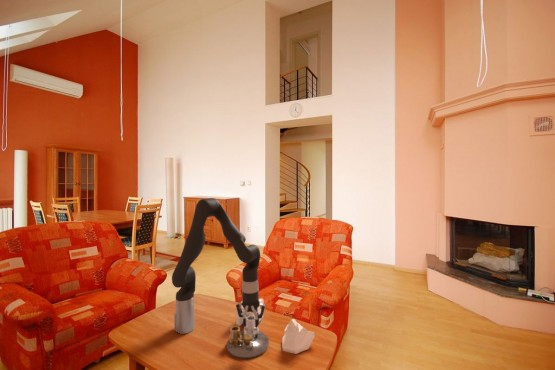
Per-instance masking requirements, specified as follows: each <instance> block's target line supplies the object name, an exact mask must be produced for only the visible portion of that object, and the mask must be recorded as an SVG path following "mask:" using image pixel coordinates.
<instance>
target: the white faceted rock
mask: <svg viewBox="0 0 555 370" xmlns="http://www.w3.org/2000/svg"><path fill="white" fill-rule="evenodd" d="M283 332H284V335H283V336H282V338H281V341H282V345H281V346H282V347H281V349H282V351H283V352H286V353H291V354H295V355H297V354H299V353H301V352H304V351H306V350H309V349H310V347H311V345H312V342H313V340H314V338H315V336H316V334H315V331H308V330H307V328H306V327H305V326H302V325H301V324H300V323H298V322H297V320H296V319H295V318H292V319H290V320H289V323H288V324H287V325H286V326H285V329H284V330H283Z"/></svg>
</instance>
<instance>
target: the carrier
mask: <svg viewBox="0 0 555 370" xmlns="http://www.w3.org/2000/svg"><path fill="white" fill-rule="evenodd" d="M240 335H242V342H241V343H240V344H238V345H234V344H233V345H231V344H229V339H228V340H227V342H226V351H227V352H228V354H230V355H231V357H234V358H236V359H242V360H249V359H255V358H258V357H260V356H261V355H263V354H264V353H265V352H266V351H267V350H268V348H269V345H270V343H269V337H268V336H267V335H266V334H265V333H263V332H262V331H261V330H260V331H259V330H258V333H257V334H254V335H247V334H245V333H244V330H242V331H241V330H240Z"/></svg>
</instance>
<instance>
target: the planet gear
mask: <svg viewBox="0 0 555 370" xmlns="http://www.w3.org/2000/svg"><path fill="white" fill-rule="evenodd" d="M255 319H256V318H255V316H251V315H250V316H247V317H246V327H243V331H244V333H245V334H247V335H254V334H257V333H258V331H259V329H260V328H259V325H258V326H257V327H255Z"/></svg>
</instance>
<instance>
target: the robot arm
mask: <svg viewBox="0 0 555 370" xmlns="http://www.w3.org/2000/svg"><path fill="white" fill-rule="evenodd" d="M211 217H214V218H215V219H216V220H217V221H218V222H219V223H220V226H221V230H222V231H221V232H222V234H223V236H224V237H225V239H226V240H227V241H228V243H229V244H230V245H231V246H232V247H233V249H234V252H235V253H236V256H237V258H238V259H239V260H240V262H242V263H244V264H246V265H244V266H243V268H242V271H241V272H242V274H241V275H242V282H241V283H242V284H241V285H242V286H241V290H242V294H241V295H242V296H241V298H242V301H241V302H242V303H241V302H239V301H238V302H237V303H236V304H235V309H236V308H237V311H238V315H239V317H242V318H243V324H242V325H243V326H244V327H246V316H247V312H253V313H254V315H255V318H256V319H255V327H257V326H258V327H259V325H260V322H259V318H262V316H263V317H264V315H263V313H265V309H266V306H267V305H266V303H263V304H261V303H260V302H259V299H260V297H259V296H260V293H259V292H260V291H259V288H260V286H259V278H258V277H259V276H258V275H259V274H258V273H259V272H258V270H259V266H260V261H261V250H260V248H259V246H258V245H256V244H250V245H246V243H245V242H246V239H247V238H246V236H245V235H244V234H243V233H242V232H241V231H240V229H238V227H237V226H236V225H235V223H234V222H233V221H232V219H231V218H230V216H229V214H228V213H227V211H226V210H225V208H224V207H223V206H222V204H221V202H220V201H219V200H218V199H216V198H213V197H209V198H202V199H200V200H198V201H197V203H196V205H195V208H194V214H193V218H192V221H191V225H190V228H189V231H188V235H187V236H186V239H185V242H184V246H183V248H182V252H181V255H180V257H179V259H178V262H177V264H176V266H175V268H174V270H173V272H172V275H171V284H172V285H173V287H174V288H177V289H178V288H179V290H177V292H176V293H175V312H174V317H173V318H174V320H173V321H174V332H175V331H176V332H175V333H177V332H178V334H179V333H180V335H185V334H189V333H191V332H192V331H194V329H195V292H196V281H197V280H196V270H195V269H194V268H193V267H192V266H191V265H192V264H193V263H194V262H195V261H196V260H197V258H198V257H199V256H200V254H201V253H202V251H203V249H204V246H205V244H206V243H205V242H206V235H205V229H204V228H205V226H206V225H205V224H206V222H207V220H208V218H211ZM242 306H243V307H244V309H245V311H244V314H243V312H242V309H241V307H242ZM259 306H260V309H261V313H260V314H259V313H258V309H257V308H258V307H259ZM262 319H263V318H262ZM244 327H243V328H244Z"/></svg>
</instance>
